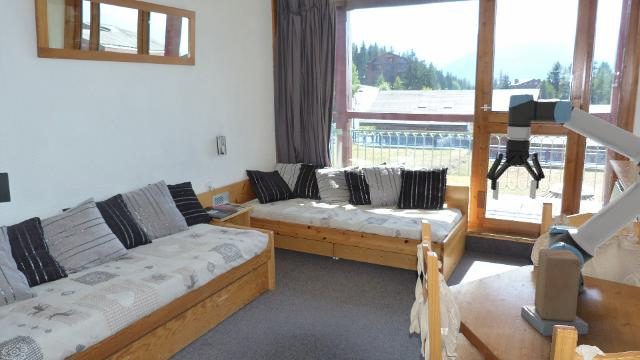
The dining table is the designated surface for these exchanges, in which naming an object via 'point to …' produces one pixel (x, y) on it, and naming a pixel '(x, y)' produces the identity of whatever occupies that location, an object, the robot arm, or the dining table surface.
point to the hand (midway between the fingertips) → (513, 198)
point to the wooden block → (557, 284)
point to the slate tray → (550, 322)
